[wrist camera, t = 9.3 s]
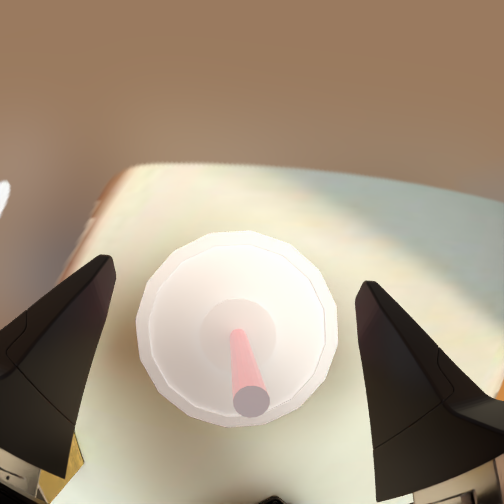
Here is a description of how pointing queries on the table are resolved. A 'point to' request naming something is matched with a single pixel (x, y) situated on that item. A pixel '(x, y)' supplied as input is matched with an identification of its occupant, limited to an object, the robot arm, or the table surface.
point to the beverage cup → (237, 328)
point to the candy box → (54, 484)
